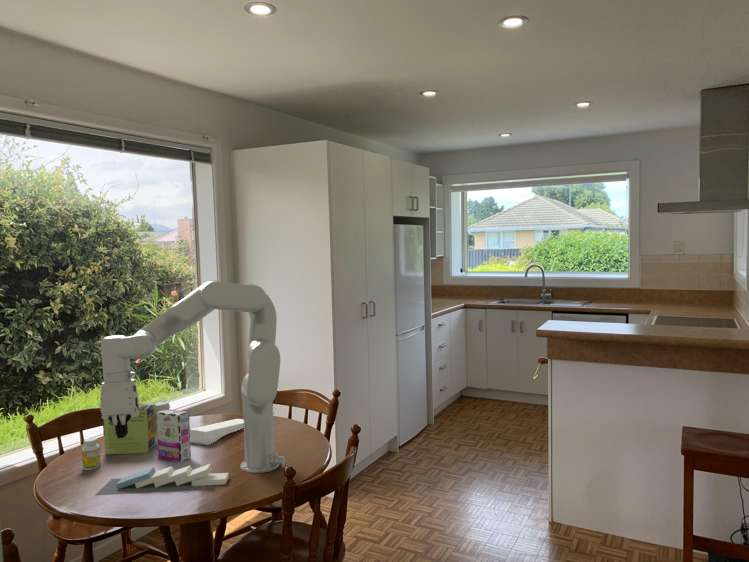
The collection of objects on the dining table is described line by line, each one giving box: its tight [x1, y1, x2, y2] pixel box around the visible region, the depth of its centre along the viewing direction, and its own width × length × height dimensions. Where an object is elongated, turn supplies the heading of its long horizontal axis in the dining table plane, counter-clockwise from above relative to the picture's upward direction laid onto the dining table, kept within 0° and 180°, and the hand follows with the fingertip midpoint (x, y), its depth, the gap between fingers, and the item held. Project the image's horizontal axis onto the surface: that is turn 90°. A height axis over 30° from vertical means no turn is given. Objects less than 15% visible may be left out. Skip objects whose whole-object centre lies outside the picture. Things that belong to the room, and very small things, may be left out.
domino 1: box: [135, 466, 175, 488], centre depth 172 cm, size 2×5×10 cm
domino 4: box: [192, 472, 230, 487], centre depth 173 cm, size 2×5×10 cm
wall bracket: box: [190, 418, 244, 446], centre depth 221 cm, size 10×7×28 cm
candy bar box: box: [156, 408, 192, 463], centre depth 195 cm, size 11×5×16 cm, turn 62°
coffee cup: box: [151, 400, 171, 428], centre depth 224 cm, size 8×8×12 cm
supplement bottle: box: [81, 437, 101, 471], centre depth 188 cm, size 5×5×10 cm
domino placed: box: [116, 466, 157, 489], centre depth 171 cm, size 2×5×10 cm
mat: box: [94, 477, 203, 496], centre depth 172 cm, size 30×12×1 cm, turn 93°
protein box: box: [103, 402, 158, 455], centre depth 206 cm, size 10×15×16 cm
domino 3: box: [175, 463, 213, 486], centre depth 172 cm, size 2×5×10 cm
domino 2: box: [154, 465, 193, 488], centre depth 172 cm, size 2×5×10 cm
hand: (122, 436), depth 171 cm, fingers closed
